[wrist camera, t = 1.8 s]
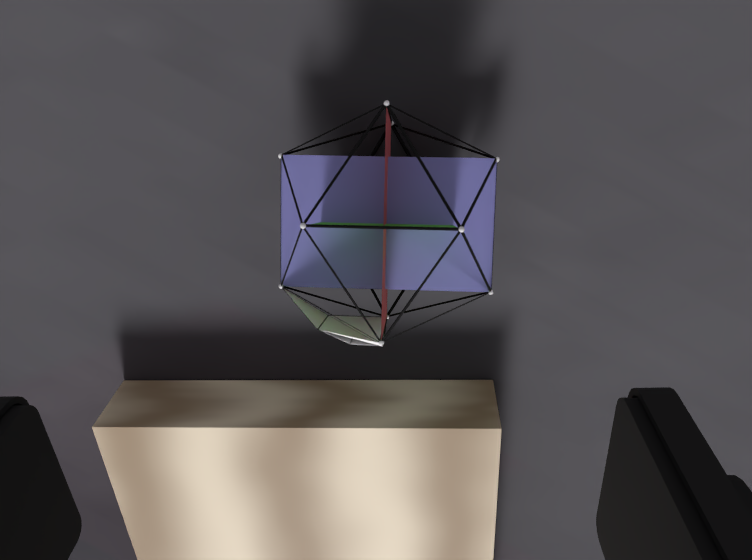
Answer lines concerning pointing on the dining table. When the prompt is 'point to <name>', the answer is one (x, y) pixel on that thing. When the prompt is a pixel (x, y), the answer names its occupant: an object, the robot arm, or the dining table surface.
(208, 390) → the birch platform
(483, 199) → the geometric puzzle
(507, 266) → the dining table surface
